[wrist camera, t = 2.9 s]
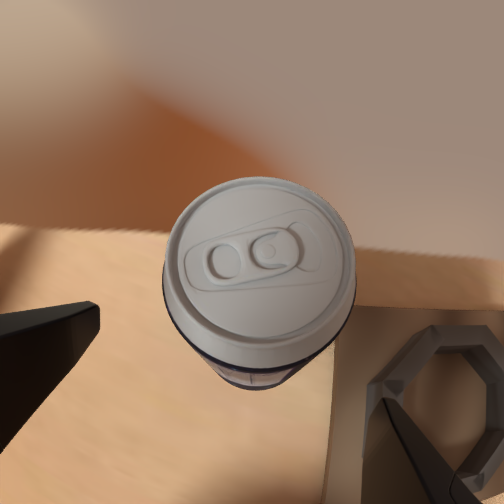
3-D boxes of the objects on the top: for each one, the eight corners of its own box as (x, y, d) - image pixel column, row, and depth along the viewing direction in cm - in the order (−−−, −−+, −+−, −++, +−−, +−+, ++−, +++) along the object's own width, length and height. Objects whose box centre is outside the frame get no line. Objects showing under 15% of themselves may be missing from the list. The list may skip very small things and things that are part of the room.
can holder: (500, 315, 19) (528, 298, 16) (497, 490, 13) (526, 494, 10) (335, 309, 20) (351, 289, 17) (317, 526, 13) (330, 546, 10)
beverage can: (314, 377, 18) (402, 327, 7) (219, 400, 17) (167, 388, 7) (288, 290, 20) (326, 153, 10) (199, 310, 20) (143, 187, 9)
